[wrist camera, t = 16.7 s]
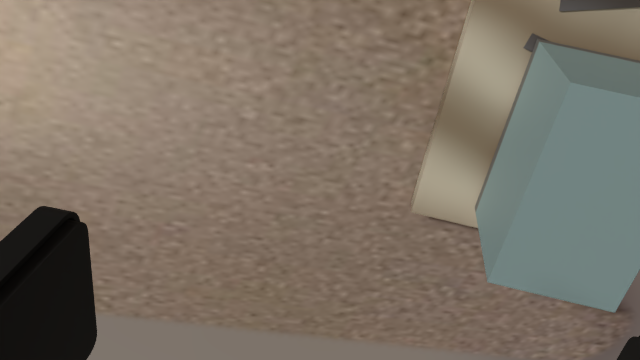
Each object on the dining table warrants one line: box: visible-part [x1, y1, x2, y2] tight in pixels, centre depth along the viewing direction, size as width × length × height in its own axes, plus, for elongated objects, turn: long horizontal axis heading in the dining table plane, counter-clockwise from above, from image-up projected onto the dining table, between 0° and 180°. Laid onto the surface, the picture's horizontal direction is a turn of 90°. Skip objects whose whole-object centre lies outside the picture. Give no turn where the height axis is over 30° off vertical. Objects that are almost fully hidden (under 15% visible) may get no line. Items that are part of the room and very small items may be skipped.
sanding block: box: [475, 39, 640, 313], centre depth 27 cm, size 10×6×7 cm, turn 170°
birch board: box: [411, 0, 640, 228], centre depth 28 cm, size 24×13×2 cm, turn 170°
